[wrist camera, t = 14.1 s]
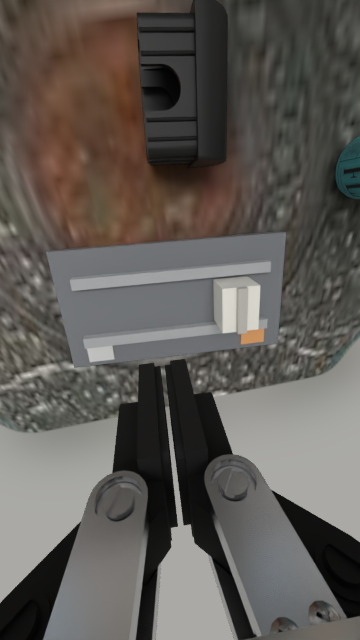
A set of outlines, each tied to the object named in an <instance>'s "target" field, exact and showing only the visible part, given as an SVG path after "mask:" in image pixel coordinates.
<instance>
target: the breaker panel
mask: <svg viewBox="0 0 360 640" xmlns="http://www.w3.org/2000/svg"><path fill="white" fill-rule="evenodd" d="M285 240H286V232H282V231H275V232H263V233H251V234H239V235H227V236H215V237H203V238H191V239H178V240H166V241H154V242H142V243H130V244H118V245H106V246H94V247H82V248H70V249H58V250H50V251H48V252H46V254H47V258H48V262H49V266H50V270H51V274H52V278H53V282H54V287H55V291H56V295H57V299H58V303H59V307H60V311H61V315H62V319H63V323H64V327H65V331H66V335H67V339H68V343H69V347H70V351H71V356H72V360H73V364H74V368H75V367H84V366H92V365H100V364H109V363H117V362H126V361H134V360H142V359H151V358H159V357H168V356H176V355H184V354H193V353H201V352H210V351H218V350H226V349H235V348H243V347H252V346H260V345H268V344H277V343H278V330H279V317H280V304H281V291H282V278H283V266H284V253H285ZM243 276H248V277H249V278H251V279H252V280H254V281H255V282H257V283H258V284H259V285H260V306H259V328H258V330H249V331H247V333H245V334H237V332H231V333H222V332H221V330H220V328H219V327H218V325H217V323H216V322H215V320H214V290H213V279H222V278H232V277H243Z"/></svg>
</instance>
